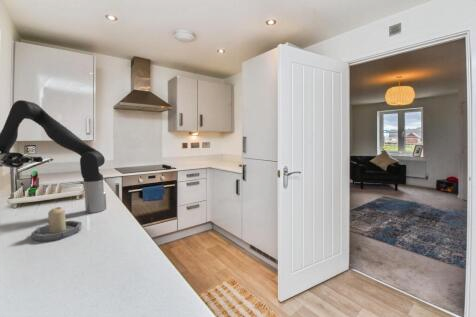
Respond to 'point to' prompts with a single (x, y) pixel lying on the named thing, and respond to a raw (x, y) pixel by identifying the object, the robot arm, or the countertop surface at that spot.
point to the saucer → (45, 234)
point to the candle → (57, 220)
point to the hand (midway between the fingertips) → (31, 160)
